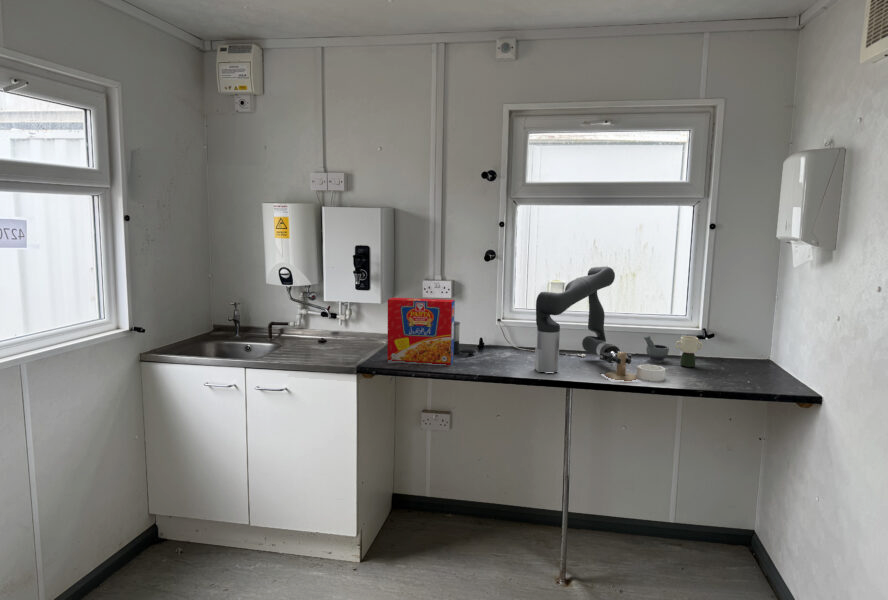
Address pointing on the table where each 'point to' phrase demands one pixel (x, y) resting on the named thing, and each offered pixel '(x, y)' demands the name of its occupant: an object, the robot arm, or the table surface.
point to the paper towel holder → (621, 370)
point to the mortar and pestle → (656, 351)
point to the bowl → (651, 372)
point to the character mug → (688, 350)
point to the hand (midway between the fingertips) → (624, 361)
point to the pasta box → (421, 330)
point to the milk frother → (456, 340)
